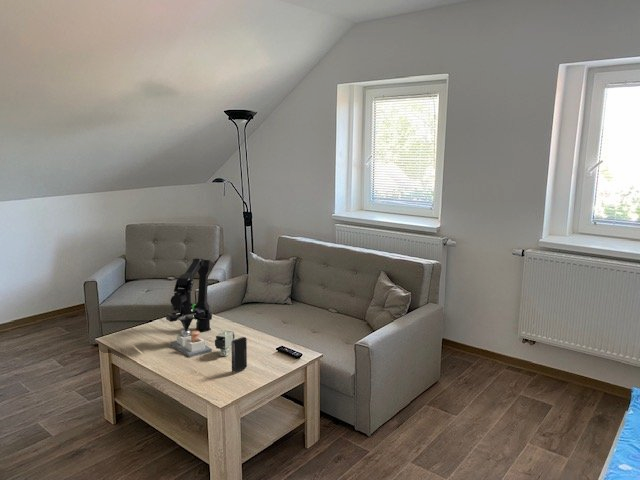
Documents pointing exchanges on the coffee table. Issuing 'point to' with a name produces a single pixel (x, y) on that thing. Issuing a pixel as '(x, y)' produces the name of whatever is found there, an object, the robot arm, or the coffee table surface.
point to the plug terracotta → (194, 336)
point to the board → (190, 346)
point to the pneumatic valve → (224, 342)
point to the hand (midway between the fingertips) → (185, 330)
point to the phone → (239, 354)
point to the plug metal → (185, 333)
